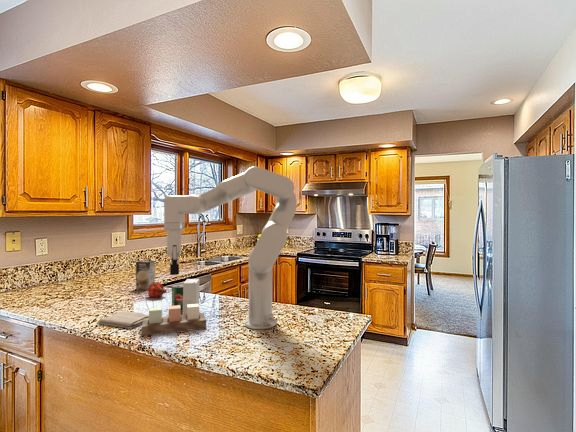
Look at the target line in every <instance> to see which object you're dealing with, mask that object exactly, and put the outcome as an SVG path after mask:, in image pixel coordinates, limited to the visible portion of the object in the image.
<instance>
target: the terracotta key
mask: <svg viewBox="0 0 576 432" xmlns="http://www.w3.org/2000/svg"><path fill="white" fill-rule="evenodd" d="M181 312H182V311H181V307H180V305H176V306H172V305H168V316H169V322H174V321H181V315H182V313H181Z"/></svg>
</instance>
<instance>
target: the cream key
mask: <svg viewBox="0 0 576 432" xmlns="http://www.w3.org/2000/svg"><path fill="white" fill-rule="evenodd" d="M199 313H200V303H199V304H187V320H193V319H199Z"/></svg>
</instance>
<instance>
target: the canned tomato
mask: <svg viewBox="0 0 576 432" xmlns="http://www.w3.org/2000/svg"><path fill="white" fill-rule="evenodd" d="M176 305H180V307H181V312H183V283H175V284H172V285H171V306H176Z"/></svg>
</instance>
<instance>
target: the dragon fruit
mask: <svg viewBox="0 0 576 432" xmlns="http://www.w3.org/2000/svg"><path fill="white" fill-rule="evenodd" d="M146 291H147V294H148V296H149V298H150V297H152V298H154V299H158V298H159V297H162V296H163V295H164V294H166V293H167V289H166V288H165V287H164V285H163V283H161V282H158V281H155V282H153V283H151V285H150V286H149V287H148V289H146Z"/></svg>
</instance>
